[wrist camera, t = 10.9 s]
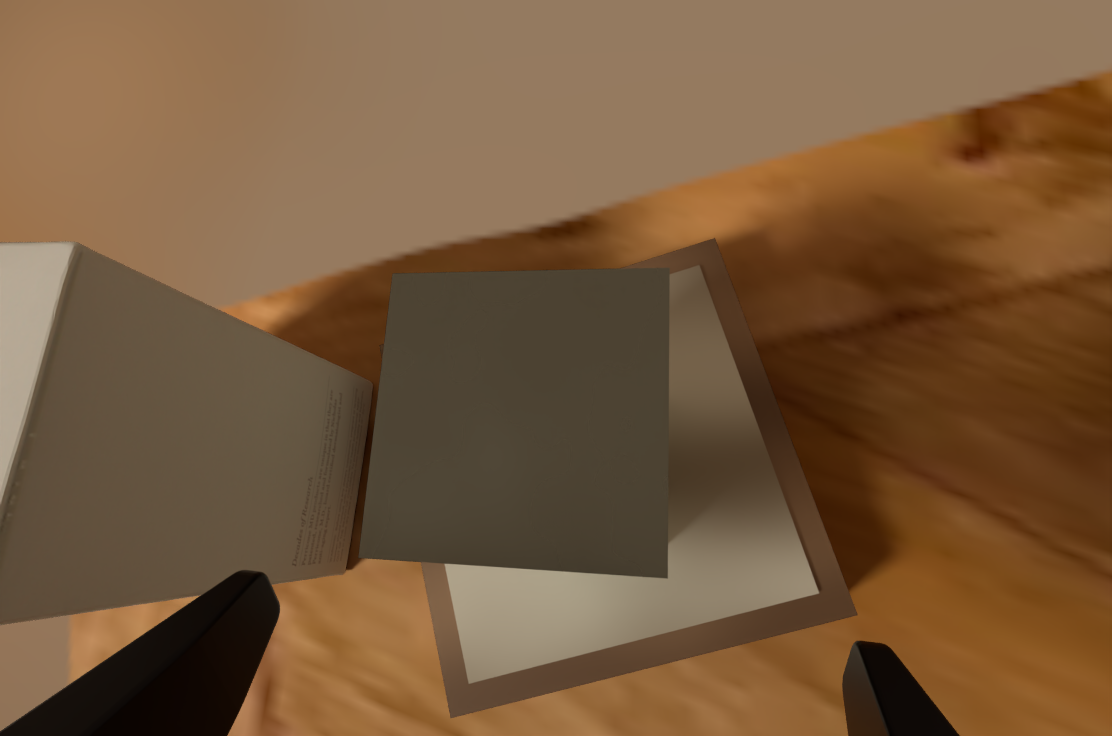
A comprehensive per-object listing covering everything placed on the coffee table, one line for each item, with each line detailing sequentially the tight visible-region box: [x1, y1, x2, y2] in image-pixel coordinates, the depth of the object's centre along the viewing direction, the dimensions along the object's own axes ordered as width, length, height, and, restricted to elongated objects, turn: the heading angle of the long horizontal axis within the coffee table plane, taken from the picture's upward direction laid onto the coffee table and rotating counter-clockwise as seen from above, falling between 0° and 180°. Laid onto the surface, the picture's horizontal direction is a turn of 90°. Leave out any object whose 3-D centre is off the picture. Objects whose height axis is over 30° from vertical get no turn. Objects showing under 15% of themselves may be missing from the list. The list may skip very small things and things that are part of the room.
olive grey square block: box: [358, 268, 670, 579], centre depth 14 cm, size 5×5×10 cm
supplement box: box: [0, 242, 373, 625], centre depth 18 cm, size 7×7×13 cm
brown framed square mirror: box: [379, 238, 857, 718], centre depth 20 cm, size 12×12×3 cm
